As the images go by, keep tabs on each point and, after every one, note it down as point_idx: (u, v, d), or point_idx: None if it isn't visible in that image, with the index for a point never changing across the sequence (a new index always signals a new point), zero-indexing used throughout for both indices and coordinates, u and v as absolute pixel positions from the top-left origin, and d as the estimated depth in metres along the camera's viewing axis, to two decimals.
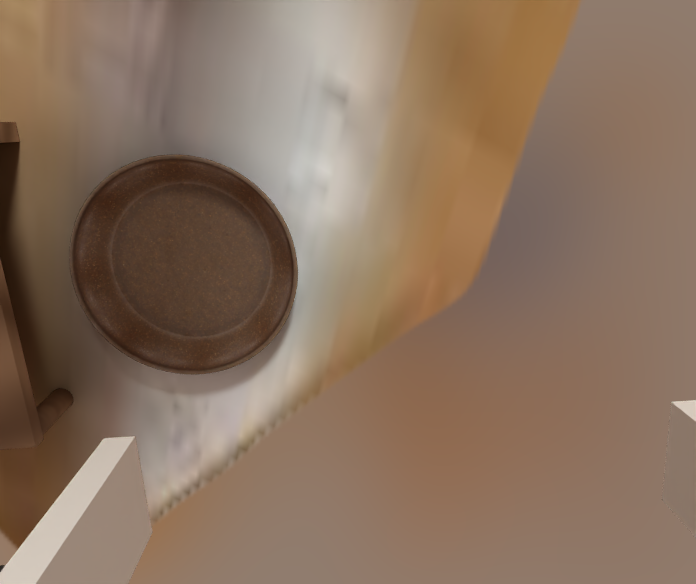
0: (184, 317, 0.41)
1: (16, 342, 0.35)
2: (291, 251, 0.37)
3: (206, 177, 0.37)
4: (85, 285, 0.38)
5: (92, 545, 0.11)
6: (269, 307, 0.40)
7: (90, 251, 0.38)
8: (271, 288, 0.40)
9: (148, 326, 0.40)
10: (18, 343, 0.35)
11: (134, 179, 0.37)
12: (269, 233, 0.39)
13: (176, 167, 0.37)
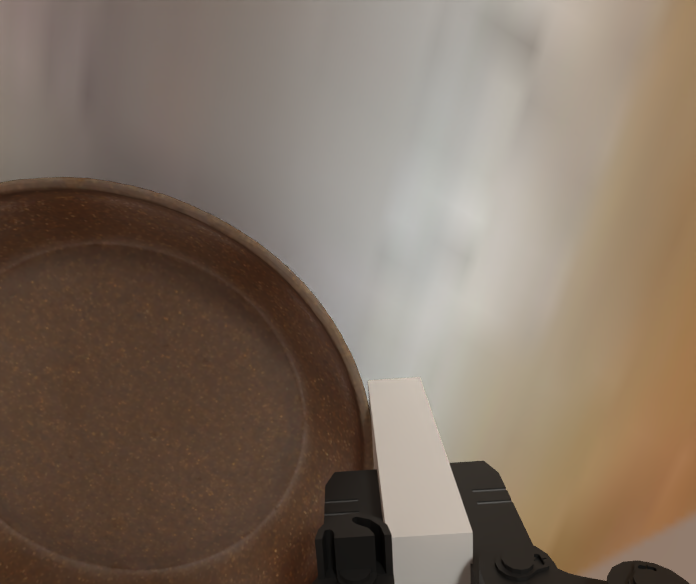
0: (109, 532, 0.18)
1: None
2: (361, 417, 0.15)
3: (155, 231, 0.15)
4: None
5: None
6: (299, 519, 0.18)
7: None
8: (303, 476, 0.18)
9: (29, 552, 0.18)
10: None
11: None
12: (303, 362, 0.16)
13: (75, 209, 0.14)
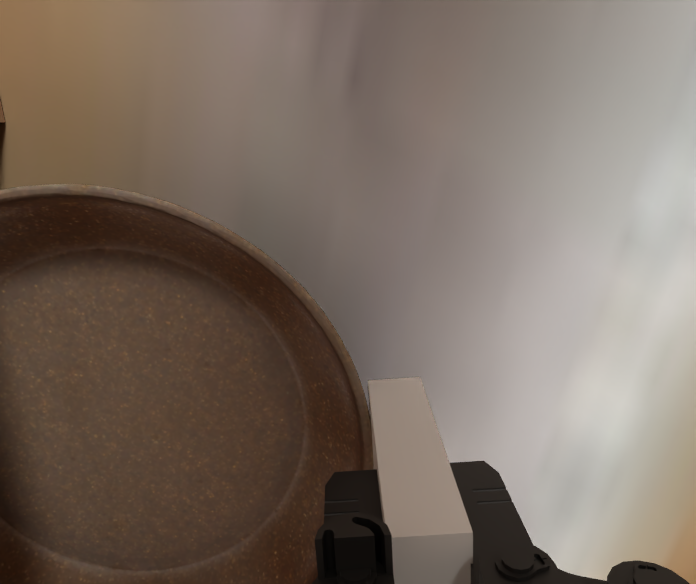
0: (111, 533, 0.18)
1: None
2: (361, 421, 0.15)
3: (157, 237, 0.15)
4: None
5: None
6: (299, 521, 0.18)
7: None
8: (303, 479, 0.18)
9: (31, 552, 0.18)
10: None
11: None
12: (304, 366, 0.17)
13: (80, 215, 0.15)
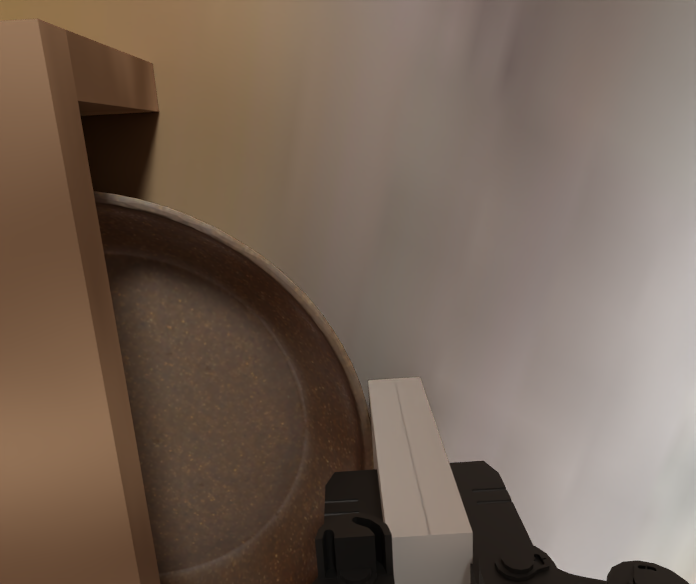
0: None
1: None
2: (361, 425, 0.15)
3: (159, 242, 0.15)
4: None
5: None
6: (300, 525, 0.18)
7: None
8: (304, 483, 0.18)
9: None
10: None
11: None
12: (304, 370, 0.17)
13: None
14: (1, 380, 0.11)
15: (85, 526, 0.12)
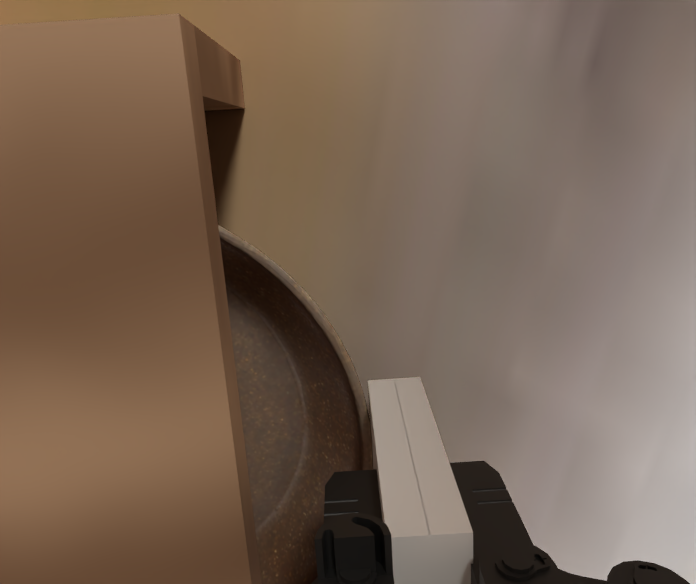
0: None
1: None
2: (360, 421, 0.15)
3: None
4: None
5: None
6: (298, 520, 0.18)
7: None
8: (303, 478, 0.18)
9: None
10: None
11: None
12: (304, 366, 0.17)
13: None
14: (123, 375, 0.11)
15: (199, 521, 0.12)
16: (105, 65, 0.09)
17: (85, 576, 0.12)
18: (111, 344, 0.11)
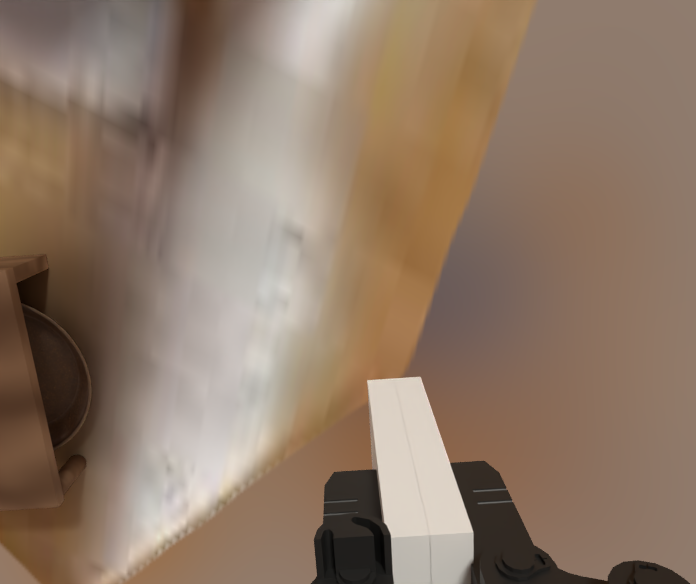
0: None
1: (45, 428, 0.46)
2: (85, 368, 0.48)
3: None
4: None
5: None
6: (77, 406, 0.50)
7: None
8: (78, 392, 0.50)
9: None
10: (46, 428, 0.46)
11: None
12: (73, 351, 0.49)
13: None
14: None
15: (20, 391, 0.44)
16: None
17: None
18: None
